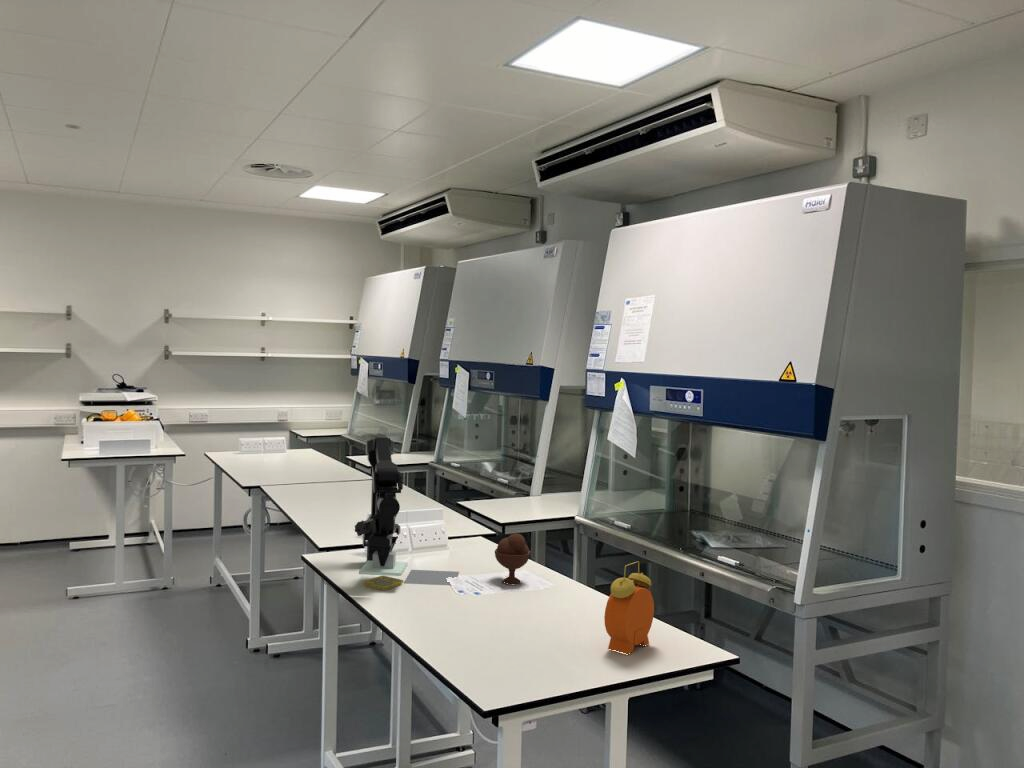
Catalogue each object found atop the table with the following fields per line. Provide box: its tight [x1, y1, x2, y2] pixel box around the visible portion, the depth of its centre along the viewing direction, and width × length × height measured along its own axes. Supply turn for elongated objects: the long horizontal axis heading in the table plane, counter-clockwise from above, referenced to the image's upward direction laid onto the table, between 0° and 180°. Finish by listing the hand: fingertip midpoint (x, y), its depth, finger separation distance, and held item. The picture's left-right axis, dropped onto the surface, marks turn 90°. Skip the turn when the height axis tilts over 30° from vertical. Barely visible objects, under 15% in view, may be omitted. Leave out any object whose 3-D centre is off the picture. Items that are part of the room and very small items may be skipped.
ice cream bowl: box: [494, 533, 531, 585], centre depth 238 cm, size 11×11×15 cm
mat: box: [403, 569, 460, 586], centre depth 238 cm, size 15×15×1 cm
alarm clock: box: [603, 561, 655, 654], centre depth 187 cm, size 13×6×20 cm, turn 141°
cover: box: [358, 551, 409, 577], centre depth 229 cm, size 12×12×5 cm
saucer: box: [362, 575, 404, 591], centre depth 229 cm, size 9×9×2 cm
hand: (383, 564), depth 229 cm, fingers closed on cover, 3 cm apart
